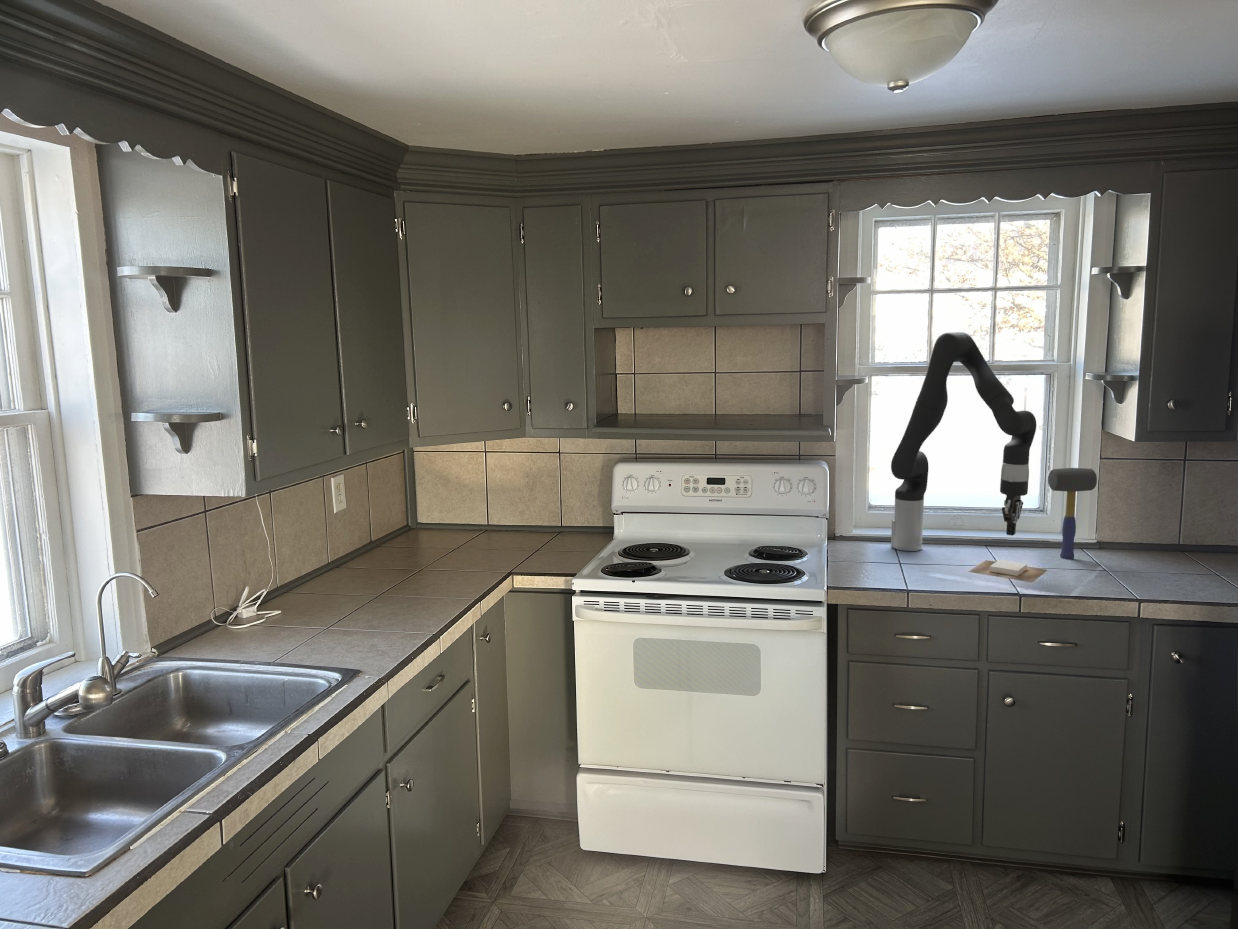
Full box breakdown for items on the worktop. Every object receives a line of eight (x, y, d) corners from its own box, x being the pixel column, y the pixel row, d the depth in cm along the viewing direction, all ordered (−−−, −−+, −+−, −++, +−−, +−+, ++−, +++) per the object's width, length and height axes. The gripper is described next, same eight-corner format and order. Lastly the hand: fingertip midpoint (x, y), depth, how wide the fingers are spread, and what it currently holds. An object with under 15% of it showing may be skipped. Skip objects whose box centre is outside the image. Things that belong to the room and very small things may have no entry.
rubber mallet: (1052, 564, 267) (1058, 470, 262) (1041, 558, 274) (1047, 466, 269) (1092, 564, 266) (1099, 469, 261) (1081, 557, 274) (1087, 465, 269)
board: (968, 575, 257) (968, 571, 257) (985, 563, 269) (986, 560, 269) (1032, 586, 245) (1032, 582, 245) (1047, 573, 257) (1047, 569, 257)
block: (999, 565, 263) (989, 571, 256) (999, 559, 263) (989, 566, 256) (1026, 569, 258) (1017, 576, 251) (1027, 564, 258) (1018, 570, 251)
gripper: (1008, 473, 261) (1004, 528, 264) (994, 480, 251) (990, 537, 254) (1034, 476, 256) (1030, 532, 259) (1021, 483, 246) (1017, 541, 249)
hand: (1010, 534), depth 256 cm, fingers closed
